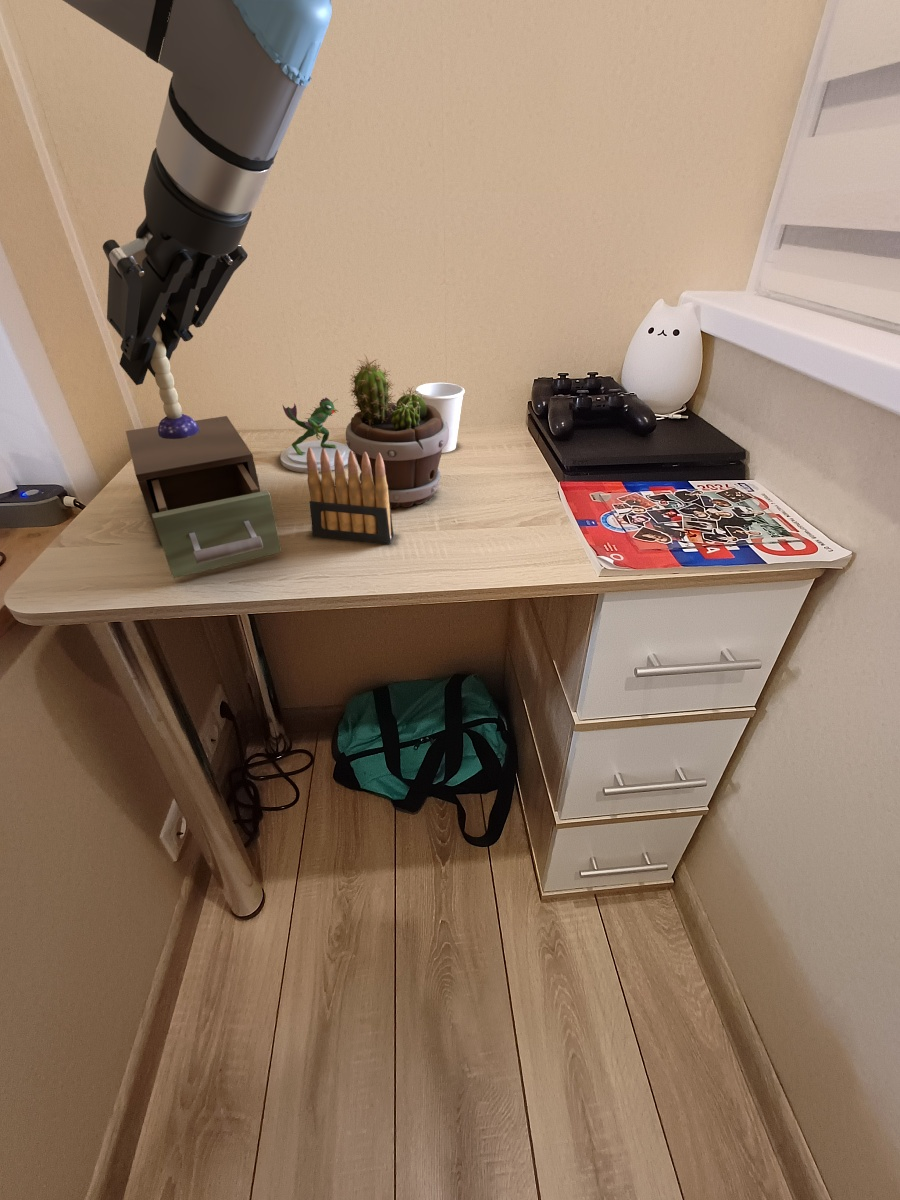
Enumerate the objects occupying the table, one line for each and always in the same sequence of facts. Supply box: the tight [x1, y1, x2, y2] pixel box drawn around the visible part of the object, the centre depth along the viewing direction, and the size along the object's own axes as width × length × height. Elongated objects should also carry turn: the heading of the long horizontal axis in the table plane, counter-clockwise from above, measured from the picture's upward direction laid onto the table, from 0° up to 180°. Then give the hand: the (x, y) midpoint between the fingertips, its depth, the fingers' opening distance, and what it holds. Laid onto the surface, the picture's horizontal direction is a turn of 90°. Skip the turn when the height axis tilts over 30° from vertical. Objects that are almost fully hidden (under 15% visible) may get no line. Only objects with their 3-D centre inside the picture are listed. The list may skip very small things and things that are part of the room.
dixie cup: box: [414, 382, 465, 454], centre depth 99 cm, size 8×8×10 cm
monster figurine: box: [279, 397, 353, 474], centre depth 94 cm, size 12×12×10 cm
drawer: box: [151, 463, 282, 579], centre depth 70 cm, size 22×13×8 cm, turn 28°
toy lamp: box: [141, 267, 200, 439], centre depth 58 cm, size 5×5×17 cm
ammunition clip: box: [307, 447, 395, 545], centre depth 72 cm, size 11×2×12 cm, turn 79°
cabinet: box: [125, 415, 261, 546], centre depth 80 cm, size 17×14×10 cm
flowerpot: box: [345, 353, 449, 509], centre depth 81 cm, size 14×15×20 cm
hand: (141, 371), depth 61 cm, fingers closed on toy lamp, 2 cm apart
